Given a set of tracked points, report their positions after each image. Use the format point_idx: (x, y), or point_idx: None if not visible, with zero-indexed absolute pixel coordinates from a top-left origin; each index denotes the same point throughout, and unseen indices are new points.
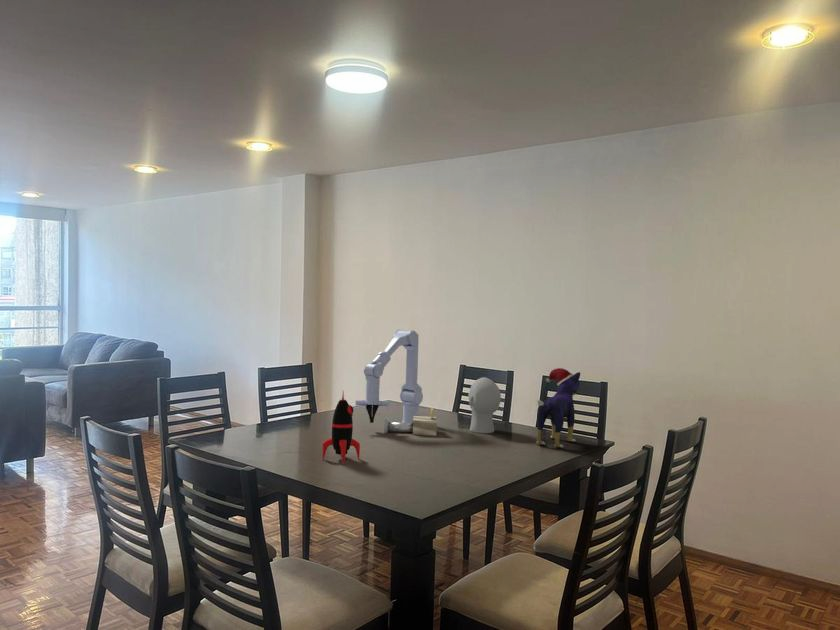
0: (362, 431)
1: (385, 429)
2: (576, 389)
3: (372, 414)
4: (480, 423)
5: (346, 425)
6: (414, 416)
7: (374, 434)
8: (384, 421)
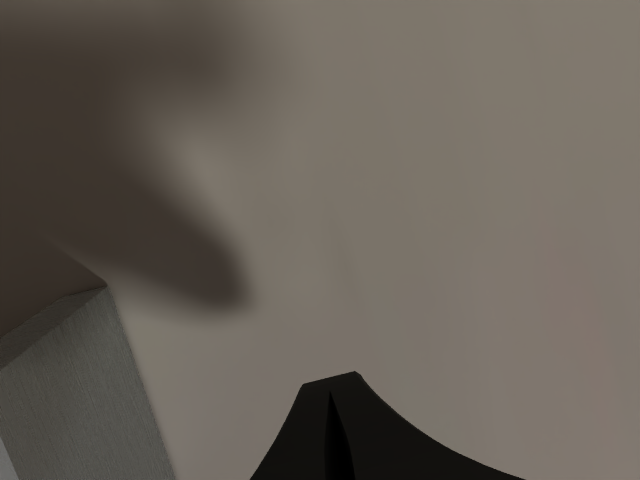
0: (442, 284)
1: (65, 308)
2: None
3: (318, 466)
4: None
5: None
6: None
7: (217, 157)
8: (8, 365)
